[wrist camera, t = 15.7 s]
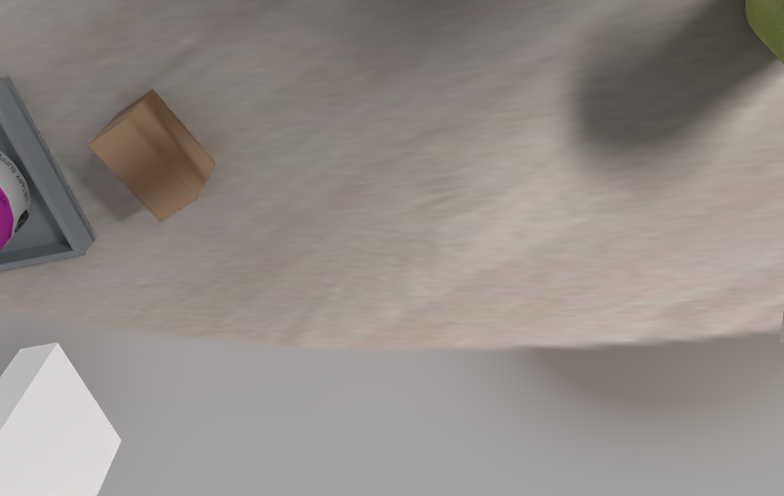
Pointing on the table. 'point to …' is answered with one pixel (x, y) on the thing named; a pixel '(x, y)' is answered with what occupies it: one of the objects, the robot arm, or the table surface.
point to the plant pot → (767, 23)
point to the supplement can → (12, 200)
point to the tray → (39, 193)
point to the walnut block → (154, 156)
